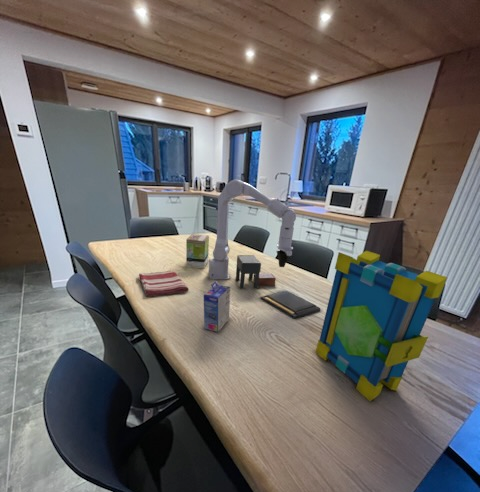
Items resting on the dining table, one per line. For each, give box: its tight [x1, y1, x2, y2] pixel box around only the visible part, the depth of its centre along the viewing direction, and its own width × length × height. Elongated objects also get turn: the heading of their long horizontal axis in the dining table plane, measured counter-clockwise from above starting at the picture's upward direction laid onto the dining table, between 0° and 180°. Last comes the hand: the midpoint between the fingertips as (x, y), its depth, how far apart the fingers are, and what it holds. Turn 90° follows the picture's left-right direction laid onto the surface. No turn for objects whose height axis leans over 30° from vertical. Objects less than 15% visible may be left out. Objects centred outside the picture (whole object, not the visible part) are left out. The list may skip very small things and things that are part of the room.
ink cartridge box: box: [203, 280, 231, 333], centre depth 86 cm, size 10×6×14 cm, turn 161°
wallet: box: [259, 290, 321, 319], centre depth 106 cm, size 20×2×15 cm
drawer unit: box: [235, 254, 262, 290], centre depth 121 cm, size 10×12×12 cm
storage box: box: [252, 272, 277, 287], centre depth 124 cm, size 9×6×4 cm, turn 101°
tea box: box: [185, 233, 210, 269], centre depth 142 cm, size 15×10×15 cm, turn 179°
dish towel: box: [138, 270, 189, 298], centre depth 115 cm, size 17×23×3 cm
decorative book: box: [315, 250, 448, 402], centre depth 65 cm, size 14×23×30 cm, turn 24°
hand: (281, 266), depth 123 cm, fingers closed
